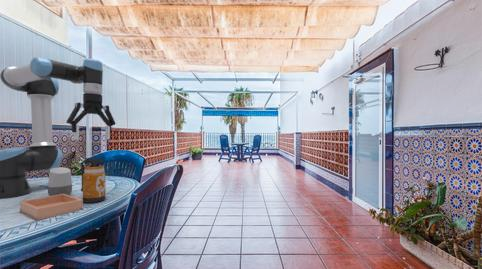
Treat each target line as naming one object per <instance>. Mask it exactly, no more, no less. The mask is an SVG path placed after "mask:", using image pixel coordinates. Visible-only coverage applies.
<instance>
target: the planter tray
mask: <svg viewBox="0 0 482 269" xmlns="http://www.w3.org/2000/svg"><path fill="white" fill-rule="evenodd" d="M83 204H84V202H83V198H79V197H75V196H72V195H71V194H70V195H66V194H59V195H54V196H49V195H48V196H45V197H38V198H34V199H33V198H32V199H27V200H22V201H19V213H21V214H23V215H26V216H27V217H29V218H31V219H33V220H35V221H40V220H45V219H47V218H52V217H56V216H60V215H65V214H69V213H73V212H77V211H81V210H83V209H84V208H83Z"/></svg>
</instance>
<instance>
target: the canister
mask: <svg viewBox="0 0 482 269" xmlns="http://www.w3.org/2000/svg"><path fill="white" fill-rule="evenodd" d="M103 162H104V159H102V158H93V157H92V156H91V157H90V158H88V157H87V158H85V159H84V160H82V161H81V162H80V167H81V188H80V191H81V192H82V200H83V203H87V204H88V203H89V204H95V203H99V202H102V201H103V200H105V199H106V180H107V179H106V178H107V177H106V176H107V175H106V172H105V167H104V166H103V165H100V164H101V163H103Z"/></svg>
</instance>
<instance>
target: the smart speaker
mask: <svg viewBox="0 0 482 269" xmlns="http://www.w3.org/2000/svg"><path fill="white" fill-rule="evenodd" d="M72 180H73V179H72V170H71V169H70V168H68V167H63V166H62V167H59V166H58V167H56V168H52V169H49V175H48V184H47V193H48V196H54V195H59V194H66V195H70V196H71V194H72V191H73V181H72Z"/></svg>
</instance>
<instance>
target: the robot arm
mask: <svg viewBox="0 0 482 269" xmlns="http://www.w3.org/2000/svg"><path fill="white" fill-rule="evenodd" d="M103 73H104V70H103V62H102V61H100V60H98V59H94V58H85V59H84V60H83V63H82V66H80V65H79V66H78V65H74V64H69V63H66V62H62V61H56V60H54V59H49V58H47V57H41V56H35V57H34V56H33V58H32V59H31V60H30V63H28V64H25V65H21V66H9V67H5V68H4V69H2V70H1V72H0V81H1V82H2V83H3V85H5V86H6V87H7V88H9V89H12V90H14V91H17V92H23V93H24V92H25V93H26V97H27V98H29V99H30V109H31V115H30V116H31V133H32V134H31V136H32V138H31V139H32V143H30V144H29V145H28V148H27V147H25V146H21V147H20V146H19V147H10V148H9V147H8V148H3V149H0V199H6V198H7V199H10V198H17V197H21V196H25V195H29V194H30V193H32V192H31V191H32V190H31V189H32V188H31V186H30V184H29V183H30V182H28V179H27V173H29V172H30V173H31V172H37V171H48V170H49V171H50V169H52V168H58V167H59V166H60V164H61V162H62V158H63V153H62V151H61V149H60V148H58V147H57V145H56V143H54V142H53V141H54V138H53V117H52V116H53V115H52V100H53V99H55V96H57V95H58V93H59V89H60V88H59V86H60V84H59V82H58V80H63V81H66V82H67V81H68V82H70V83H72V84H75V85H76V84H79V85H80V84H83V85H82V86H83V87H82V90H83V94H82V101H83V102H82V103H81V102H75V104H74V108H73V110H72V111H71V113H70V114H69V116H68V118H67V120H66V124H70V125H71V132H72V133H73V140H74V141H79V138H80V137H79V136H80V125H79V122H81V120H82V119H84V117H85V116H86V115H88V114H89V115H91V114H92V115H98V116H99V117H100V119H101V120H102V121H103V123H104V124H105V126H104V132H105V134H104V140H110V138H111V137H110V136H111V133H112V127H113V126H114V125H116V121H115V119H114V117H113V115H112V112H111V111H110V110H111V109H110V106H109V105H103V95H102V94H103V76H104V74H103ZM81 108H83V110H82V111H81V112H80V114H78V113H79V111H80V110H81ZM102 110H103V111H104V112H103V111H102ZM104 113H105V114H104Z"/></svg>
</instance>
